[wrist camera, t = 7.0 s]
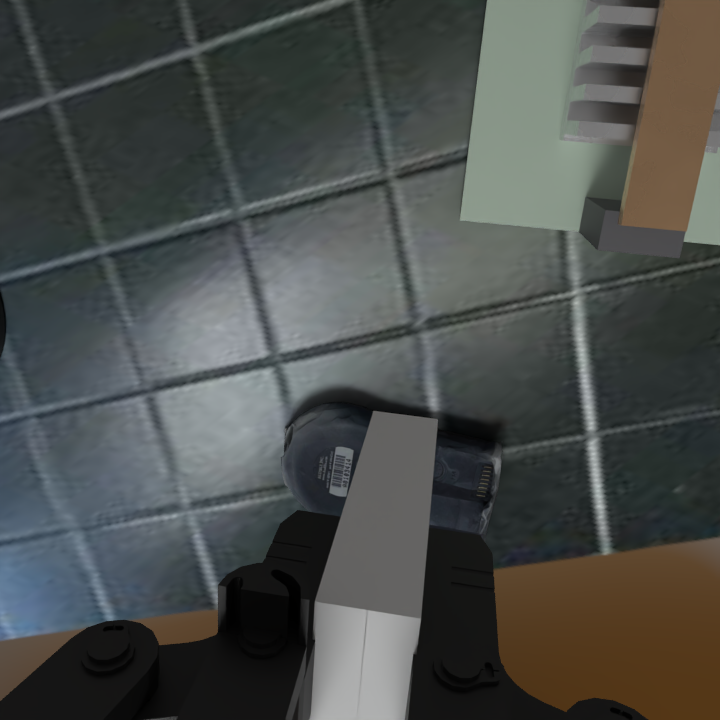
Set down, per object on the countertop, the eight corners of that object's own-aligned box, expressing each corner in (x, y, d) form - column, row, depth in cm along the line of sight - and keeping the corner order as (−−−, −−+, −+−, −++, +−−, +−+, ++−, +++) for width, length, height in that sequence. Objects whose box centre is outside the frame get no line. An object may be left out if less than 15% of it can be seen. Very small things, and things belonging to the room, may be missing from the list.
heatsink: (559, 139, 38) (575, 143, 32) (586, -20, 35) (608, -46, 30) (706, 151, 37) (748, 157, 32) (746, -12, 34) (800, -36, 29)
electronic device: (500, 410, 47) (288, 386, 47) (514, 458, 42) (277, 432, 42) (474, 511, 52) (280, 490, 51) (484, 564, 47) (270, 543, 46)
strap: (601, 221, 33) (606, 224, 32) (666, -125, 28) (675, -137, 27) (695, 230, 32) (703, 233, 31) (775, -121, 28) (789, -133, 27)
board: (459, 217, 41) (458, 246, 32) (503, -129, 35) (517, -219, 26) (766, 246, 39) (860, 286, 30) (870, -116, 33) (1030, -207, 24)
